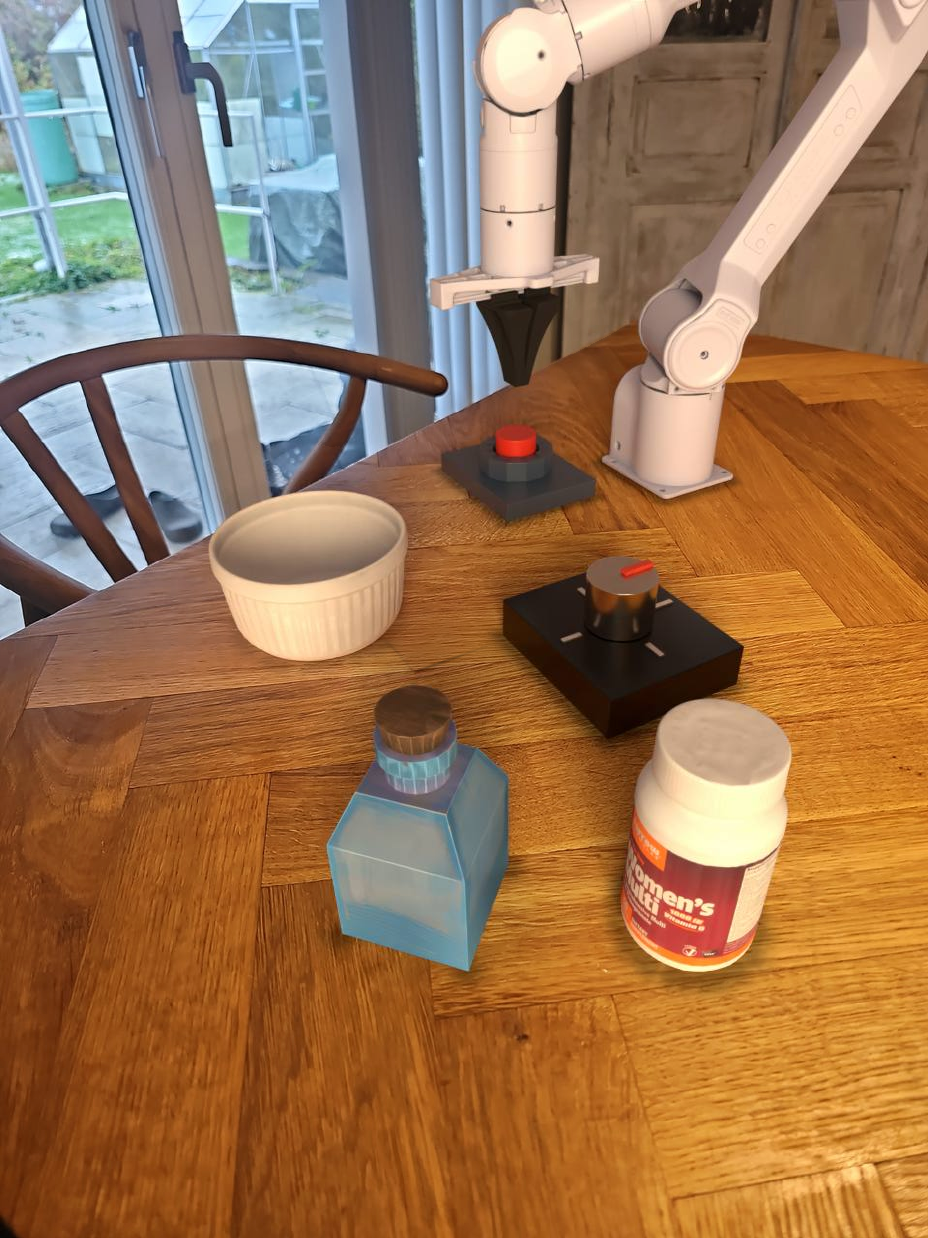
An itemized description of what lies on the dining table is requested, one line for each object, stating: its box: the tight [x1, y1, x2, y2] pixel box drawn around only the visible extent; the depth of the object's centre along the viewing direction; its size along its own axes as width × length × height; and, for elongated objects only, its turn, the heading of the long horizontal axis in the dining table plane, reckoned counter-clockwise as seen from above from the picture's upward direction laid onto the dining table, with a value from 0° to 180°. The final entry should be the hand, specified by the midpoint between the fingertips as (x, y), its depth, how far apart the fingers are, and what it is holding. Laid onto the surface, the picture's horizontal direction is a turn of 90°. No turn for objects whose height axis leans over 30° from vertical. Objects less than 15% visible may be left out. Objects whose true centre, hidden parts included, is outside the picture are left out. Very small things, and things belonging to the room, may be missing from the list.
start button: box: [494, 424, 537, 457], centre depth 75 cm, size 4×4×2 cm
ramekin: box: [208, 489, 409, 662], centre depth 59 cm, size 13×13×7 cm
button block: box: [440, 434, 597, 523], centre depth 76 cm, size 12×9×4 cm
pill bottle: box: [620, 698, 793, 973], centre depth 36 cm, size 6×6×11 cm
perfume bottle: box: [326, 684, 510, 972], centre depth 37 cm, size 6×6×12 cm
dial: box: [583, 555, 660, 641], centre depth 53 cm, size 4×4×4 cm
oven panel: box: [502, 571, 745, 740], centre depth 55 cm, size 12×10×3 cm
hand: (516, 382), depth 72 cm, fingers closed
